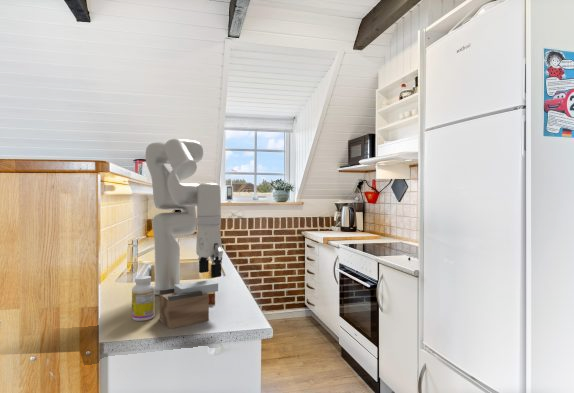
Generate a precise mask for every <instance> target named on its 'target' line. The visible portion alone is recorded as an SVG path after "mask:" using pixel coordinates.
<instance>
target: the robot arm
mask: <svg viewBox="0 0 574 393" xmlns="http://www.w3.org/2000/svg"><path fill="white" fill-rule="evenodd" d="M203 157H204V149H203V146H202V144H201V143H200V142H199V141H196V140H192V139H191V140H190V139H184V138H183V139H181V138H171V139H169V140H168V141H166V142H161V141H159V142H151V143H150V144H147V146H146V149H145V163H146V167H147V169H148V171H149V175H150V177H151V182H152V183H151V185H152V197H153V204H154V206H155V208H156V209H157V210H160V211H170V212H159V213H158V214H156V215H155V216H153V218H152V221H151V227H152V231H153V238H154V240H153V242H154V287H155V296H160V294H159V293H160V290H161V289H168V288H174V285H176V284H181V283H180V282H181V280H180V278H181V277H180V276H181V272H180V271H181V266H180V264H181V262H180V261H181V259H180V256H181V254H180V253H181V248H180V245H179V243H178V242H177V240H176V239H175V238H174V237H178V236H188V235H193V234H195V232H196V251H195V252H196V255H197V256H198V259H197V260H198V272H199V273H200V274H203V273H209V271H210V276H211V278H213V279H214V278H220V277H222V264H223V255H224V251H223V248H222V235H221V234H222V233H221V226H222V206H221V205H222V204H221V199H222V198H221V197H222V196H221V193H222V192H221V186H220V184H218V183H214V182H210V183H209V182H207V183H183V182H181V181H183V180H186V179H189V178H190V177H192V176H194V174H195V173H196V171H197V168H198V167H197V166H198V165H197V163H199V162H201V160H202V159H203ZM166 164H167V165H170V167H171V171H170V169H169V168H168V167H167V166H166ZM171 210H172V211H173V210H179V211H181V212H178V211H177V212H174V211H173V212H172V211H171ZM209 258H210V260H211V261H210V262H211V264H209V263H210V262H209ZM209 265H210V266H209ZM209 267H210V270H209Z"/></svg>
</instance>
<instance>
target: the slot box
mask: <svg viewBox="0 0 574 393" xmlns="http://www.w3.org/2000/svg"><path fill="white" fill-rule="evenodd" d="M159 294H160V295H159V320H160V321H161V322H162V323H163V324H164V325H165V326H166V327H167V328H168V329H169V330H171V329H174V328H175V329H177V328H179V327H185V326H189V324H190V325H194V324H198V322H199V323H202V322H207V321H210V320H209V319H210V318H209V317H210V316H209V314H210V313H209V312H210V311H209V310H210V308H209V306H210V305H209V294H207V293H204V294H202V291H195V292H189V293H183V294H175V293H174V288H168V289H161V290H160V293H159ZM184 325H185V326H184Z"/></svg>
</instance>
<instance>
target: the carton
mask: <svg viewBox="0 0 574 393" xmlns="http://www.w3.org/2000/svg"><path fill="white" fill-rule="evenodd" d="M207 294H209V306H210V305H215V304H216V292H210V293H207Z"/></svg>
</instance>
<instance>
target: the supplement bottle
mask: <svg viewBox="0 0 574 393" xmlns="http://www.w3.org/2000/svg"><path fill="white" fill-rule="evenodd" d="M134 281H135V285H134V286H132V288H131V317H132V320H133V321H136V322H144V321H149V320H151V319H153V318H154V317H155V316H156V312H155V311H156V310H155V309H156V308H155V307H156V304H155V300H156V297H155V296H156V295H155V284H152V276H150V275H141V276H140V275H139V276H137V277H135V280H134Z"/></svg>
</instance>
